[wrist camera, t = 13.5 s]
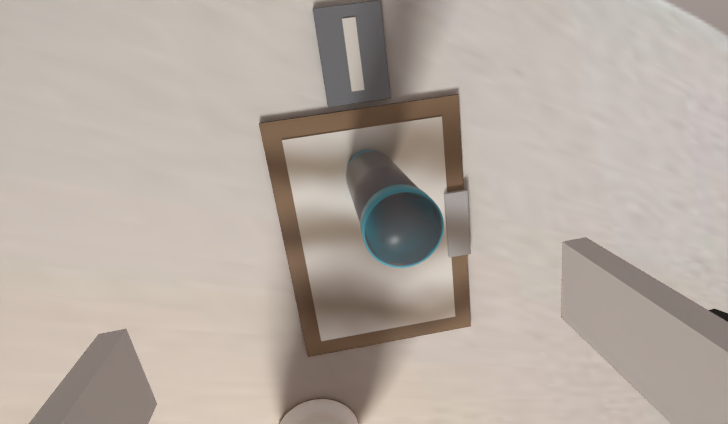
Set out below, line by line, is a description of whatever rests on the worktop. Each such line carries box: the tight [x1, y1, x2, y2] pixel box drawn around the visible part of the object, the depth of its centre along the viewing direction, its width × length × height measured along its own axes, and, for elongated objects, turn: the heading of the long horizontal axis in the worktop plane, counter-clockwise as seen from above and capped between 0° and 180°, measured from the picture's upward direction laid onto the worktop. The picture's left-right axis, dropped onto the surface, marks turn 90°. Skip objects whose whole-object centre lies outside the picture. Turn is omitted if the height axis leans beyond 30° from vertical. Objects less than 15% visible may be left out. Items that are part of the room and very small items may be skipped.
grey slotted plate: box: [313, 0, 391, 107], centre depth 31 cm, size 7×5×1 cm
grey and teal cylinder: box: [346, 149, 444, 268], centre depth 28 cm, size 4×4×14 cm
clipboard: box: [259, 95, 471, 357], centre depth 36 cm, size 22×16×1 cm
